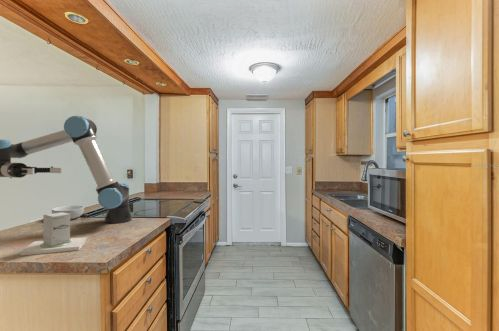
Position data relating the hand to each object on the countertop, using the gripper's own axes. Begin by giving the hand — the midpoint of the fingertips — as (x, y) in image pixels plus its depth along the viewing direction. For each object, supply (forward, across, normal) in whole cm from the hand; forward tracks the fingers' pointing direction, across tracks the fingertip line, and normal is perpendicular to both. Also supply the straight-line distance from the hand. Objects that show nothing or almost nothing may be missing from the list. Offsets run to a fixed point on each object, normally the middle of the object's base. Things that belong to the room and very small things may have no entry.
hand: (47, 171), depth 131 cm
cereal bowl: (-23, -32, -32) cm, 51 cm away
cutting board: (+20, +13, -32) cm, 40 cm away
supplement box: (+20, +12, -30) cm, 39 cm away
